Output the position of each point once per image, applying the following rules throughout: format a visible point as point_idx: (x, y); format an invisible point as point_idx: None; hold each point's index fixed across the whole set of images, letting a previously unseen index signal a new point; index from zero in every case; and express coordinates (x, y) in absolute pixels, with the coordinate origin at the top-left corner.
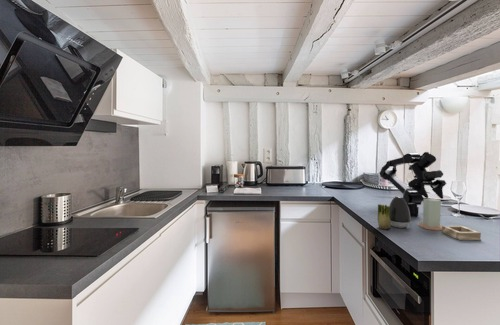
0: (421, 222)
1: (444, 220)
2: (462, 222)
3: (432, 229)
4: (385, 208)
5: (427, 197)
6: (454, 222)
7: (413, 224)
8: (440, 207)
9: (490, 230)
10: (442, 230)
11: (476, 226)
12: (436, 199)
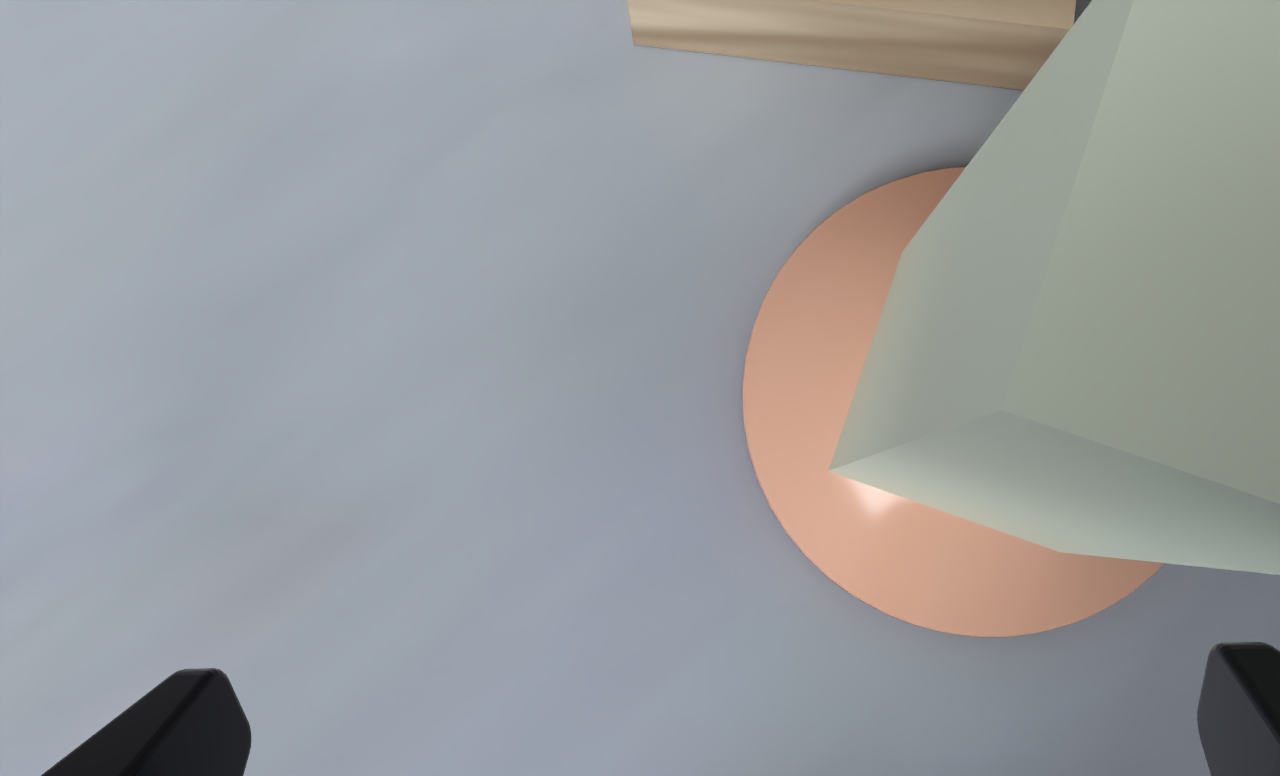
0: (1027, 623)
1: None
2: (13, 526)
3: None
4: None
5: (1265, 660)
6: (178, 561)
7: (1229, 632)
8: (1057, 52)
9: (19, 27)
10: (1040, 64)
11: (16, 256)
12: (1099, 210)
